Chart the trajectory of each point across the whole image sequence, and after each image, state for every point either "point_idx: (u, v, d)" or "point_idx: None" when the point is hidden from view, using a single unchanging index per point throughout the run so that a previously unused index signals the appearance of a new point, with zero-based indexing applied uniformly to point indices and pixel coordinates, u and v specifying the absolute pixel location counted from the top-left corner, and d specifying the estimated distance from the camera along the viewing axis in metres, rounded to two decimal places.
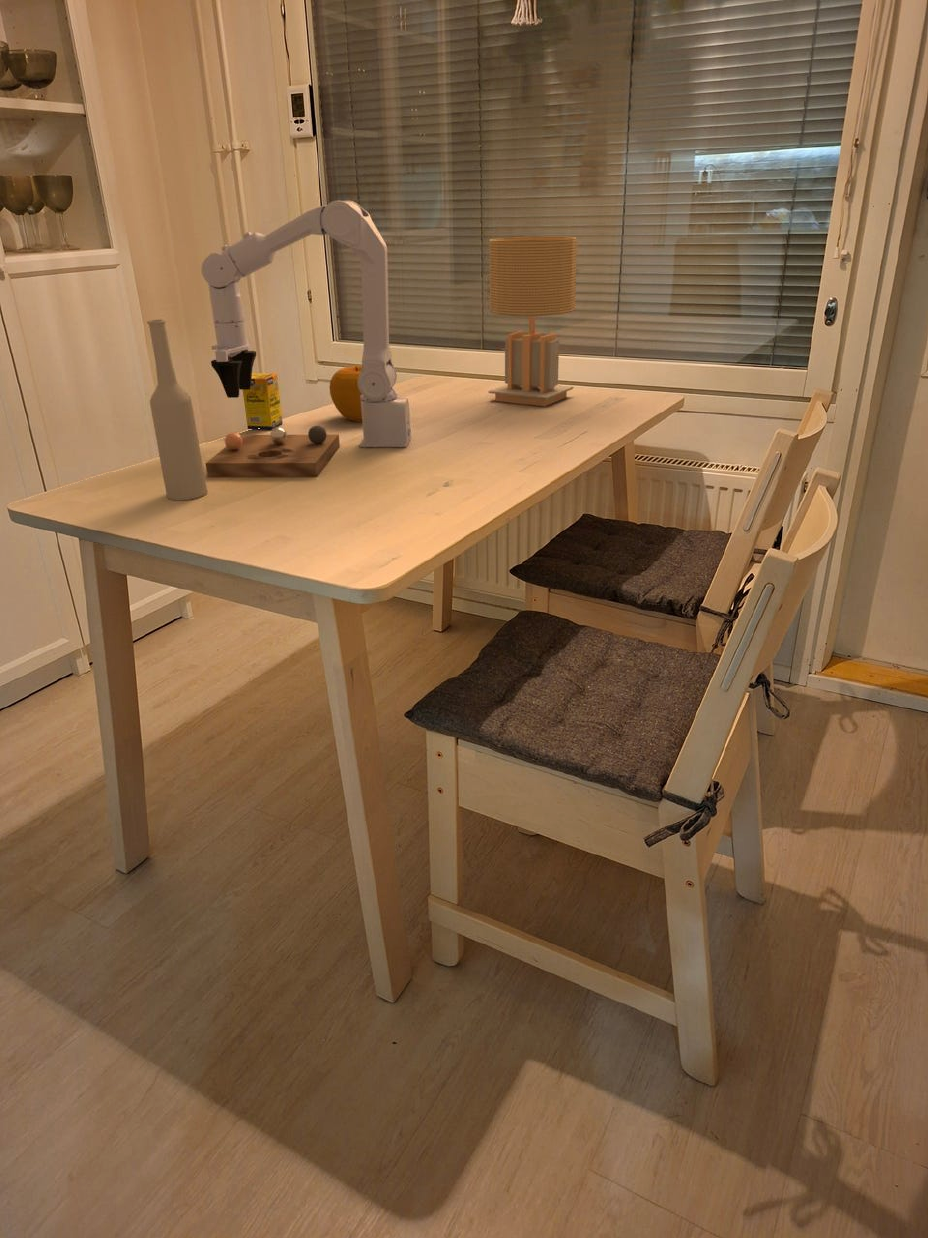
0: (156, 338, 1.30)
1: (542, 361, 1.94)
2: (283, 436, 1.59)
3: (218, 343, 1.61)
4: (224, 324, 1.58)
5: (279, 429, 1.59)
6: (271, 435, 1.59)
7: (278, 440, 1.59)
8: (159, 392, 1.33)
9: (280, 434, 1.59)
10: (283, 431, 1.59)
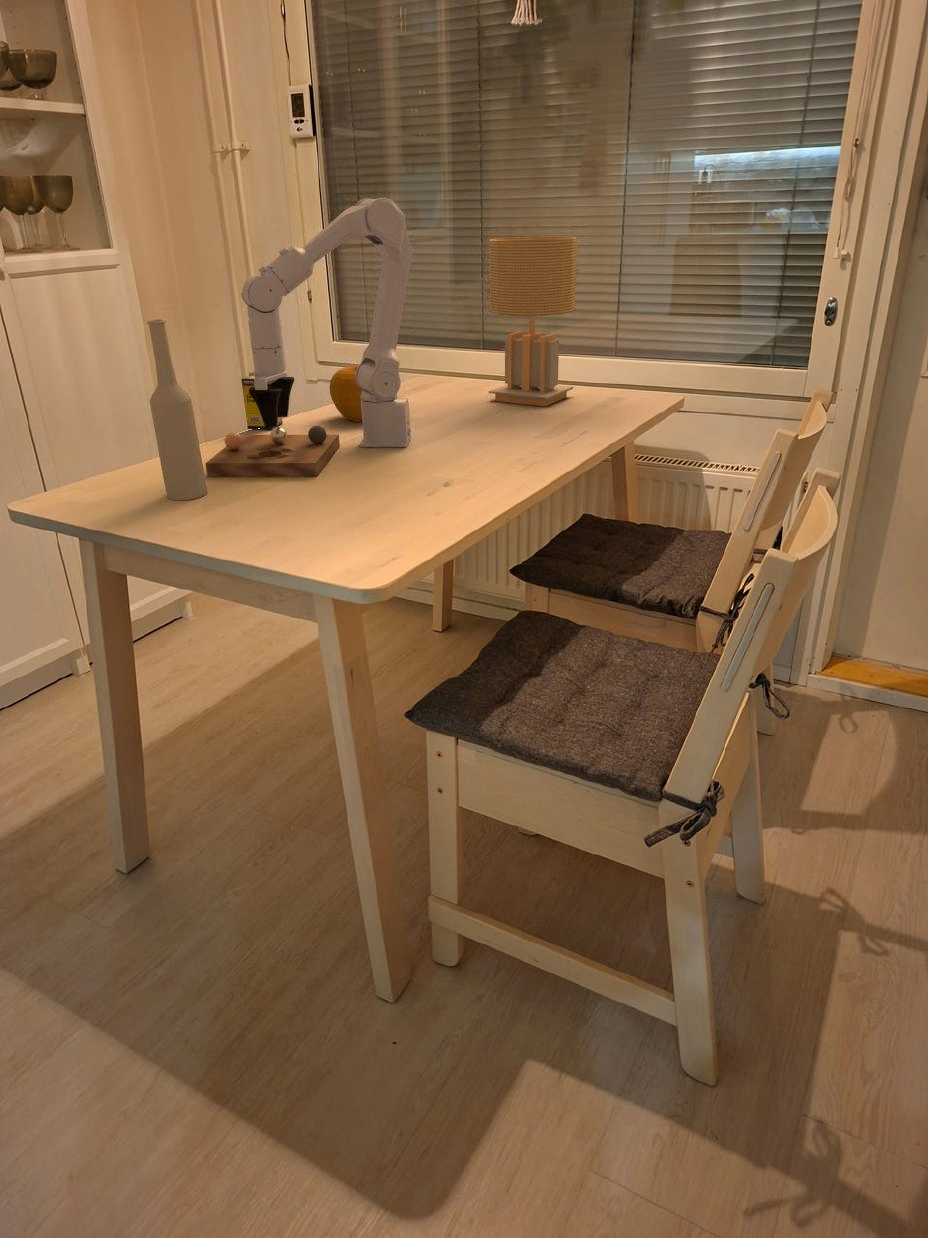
0: (156, 338, 1.30)
1: (542, 361, 1.94)
2: (283, 436, 1.59)
3: (257, 369, 1.53)
4: (263, 350, 1.50)
5: (279, 429, 1.59)
6: (271, 435, 1.59)
7: (278, 440, 1.59)
8: (159, 392, 1.33)
9: (280, 434, 1.59)
10: (283, 431, 1.59)
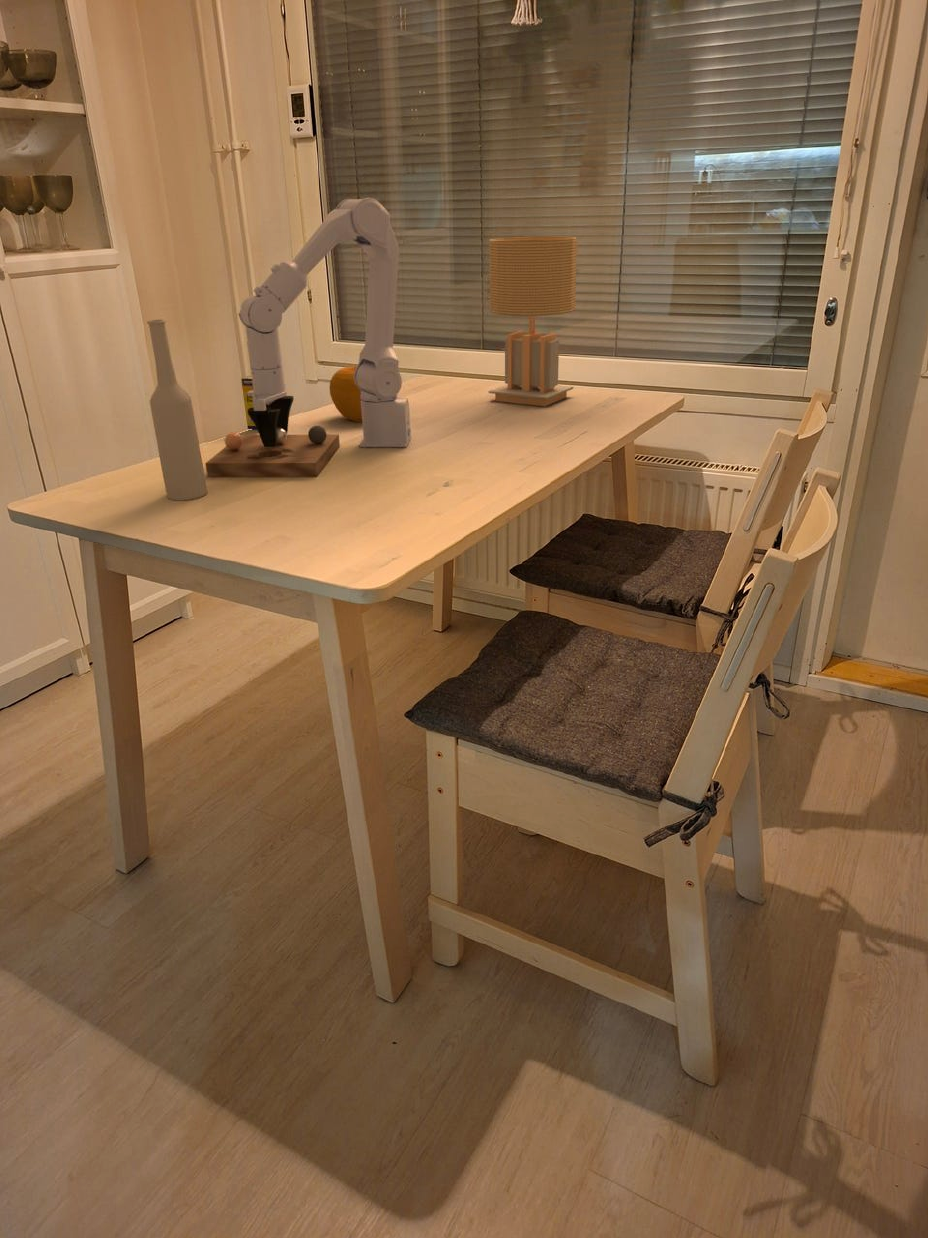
0: (156, 338, 1.30)
1: (542, 361, 1.94)
2: (283, 436, 1.59)
3: (255, 390, 1.52)
4: (262, 371, 1.50)
5: (279, 430, 1.59)
6: None
7: (278, 441, 1.59)
8: (159, 392, 1.33)
9: (280, 434, 1.58)
10: (283, 431, 1.59)
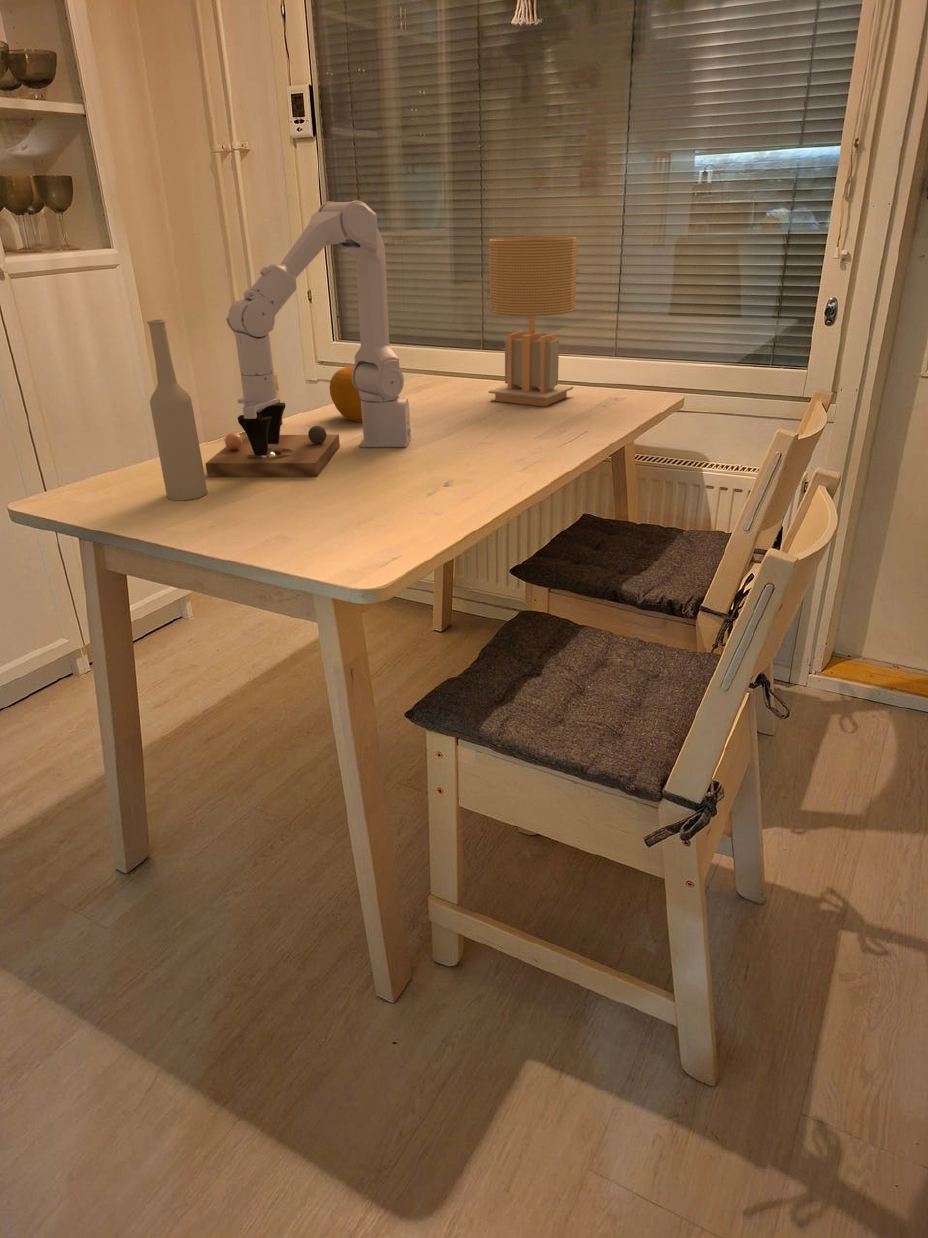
0: (156, 338, 1.30)
1: (542, 361, 1.94)
2: (274, 455, 1.53)
3: (246, 397, 1.47)
4: (252, 377, 1.45)
5: None
6: None
7: None
8: (159, 391, 1.33)
9: (271, 452, 1.53)
10: None
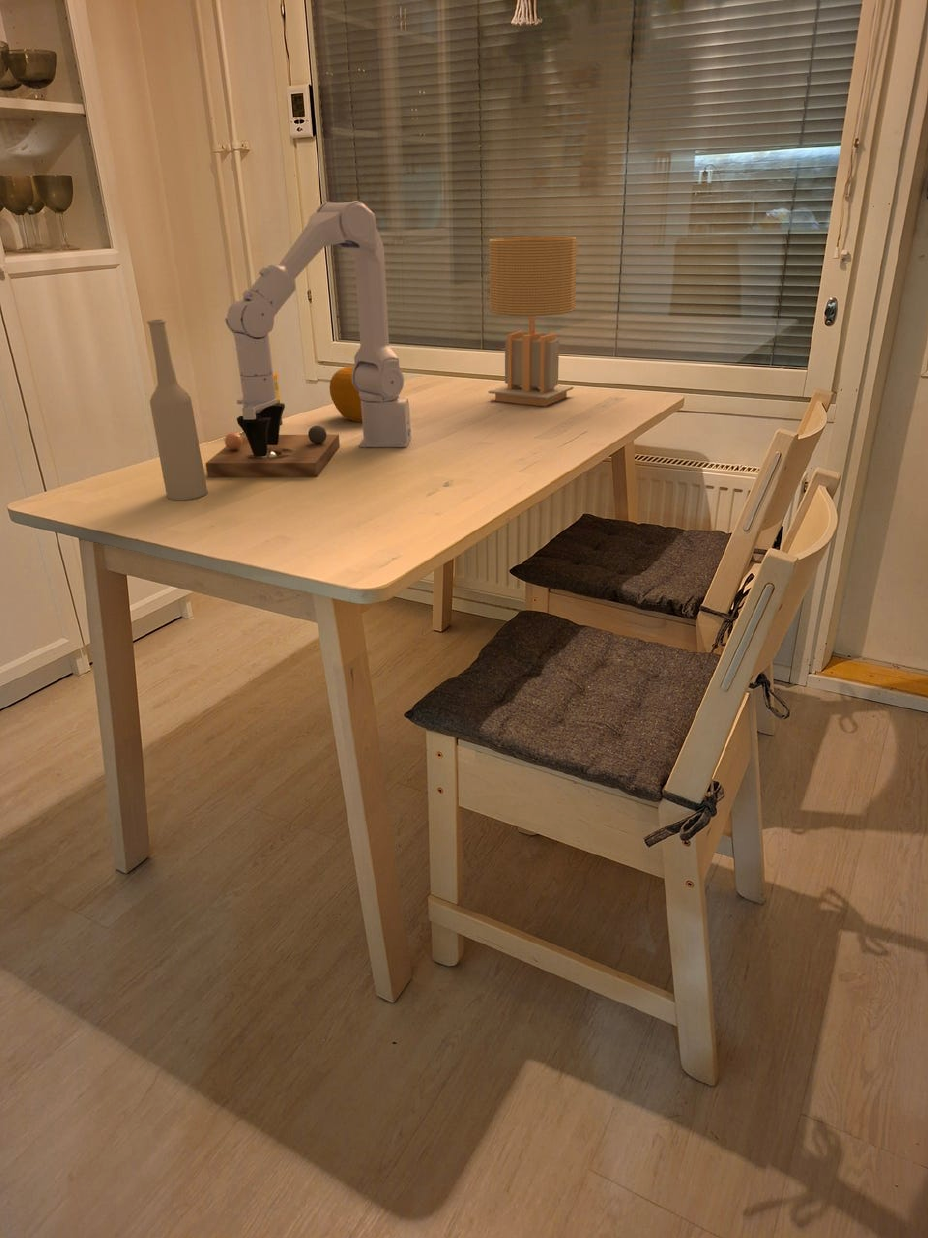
0: (156, 338, 1.30)
1: (542, 361, 1.94)
2: (274, 455, 1.54)
3: (245, 397, 1.46)
4: (251, 378, 1.44)
5: (272, 451, 1.54)
6: None
7: (268, 456, 1.53)
8: (159, 392, 1.33)
9: (272, 452, 1.54)
10: (275, 453, 1.54)
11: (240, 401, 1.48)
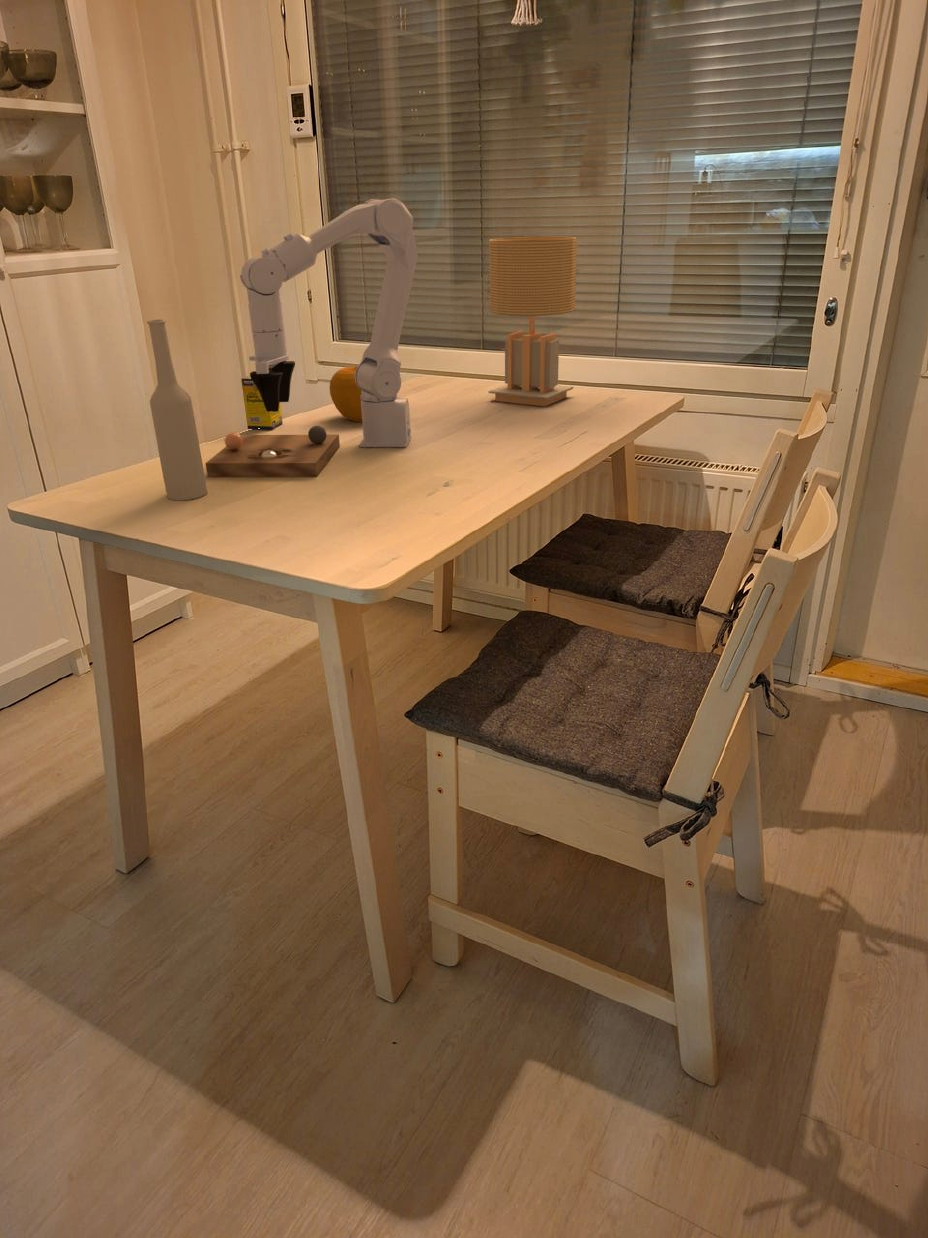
0: (156, 338, 1.30)
1: (542, 361, 1.94)
2: (275, 454, 1.54)
3: (257, 353, 1.51)
4: (264, 333, 1.48)
5: None
6: (262, 453, 1.54)
7: (268, 455, 1.53)
8: (159, 391, 1.33)
9: (272, 451, 1.54)
10: None
11: (252, 357, 1.52)
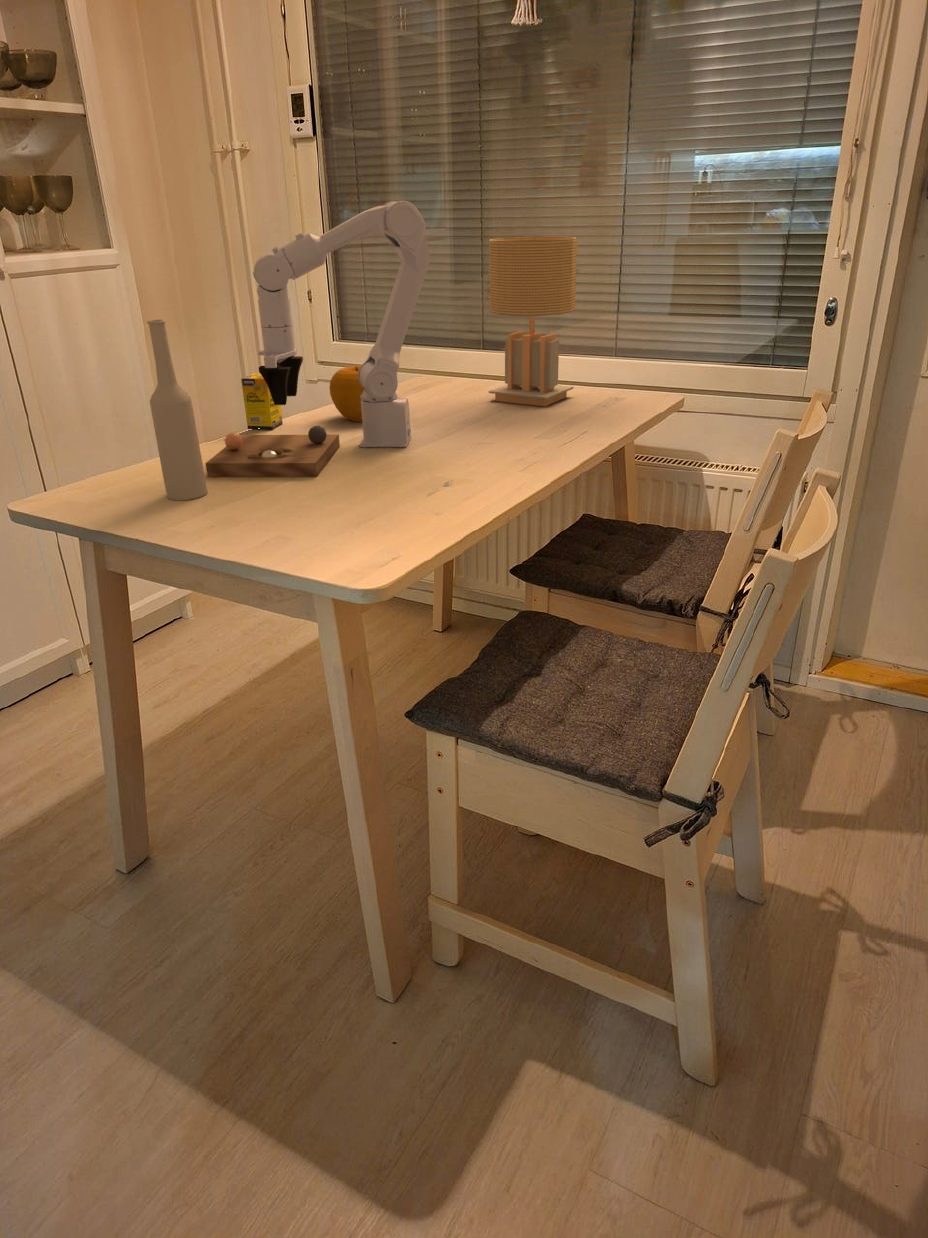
0: (156, 338, 1.30)
1: (542, 361, 1.94)
2: (275, 454, 1.54)
3: (266, 348, 1.55)
4: (272, 329, 1.52)
5: None
6: (263, 452, 1.54)
7: (269, 454, 1.53)
8: (159, 392, 1.33)
9: (272, 451, 1.54)
10: None
11: (261, 352, 1.56)
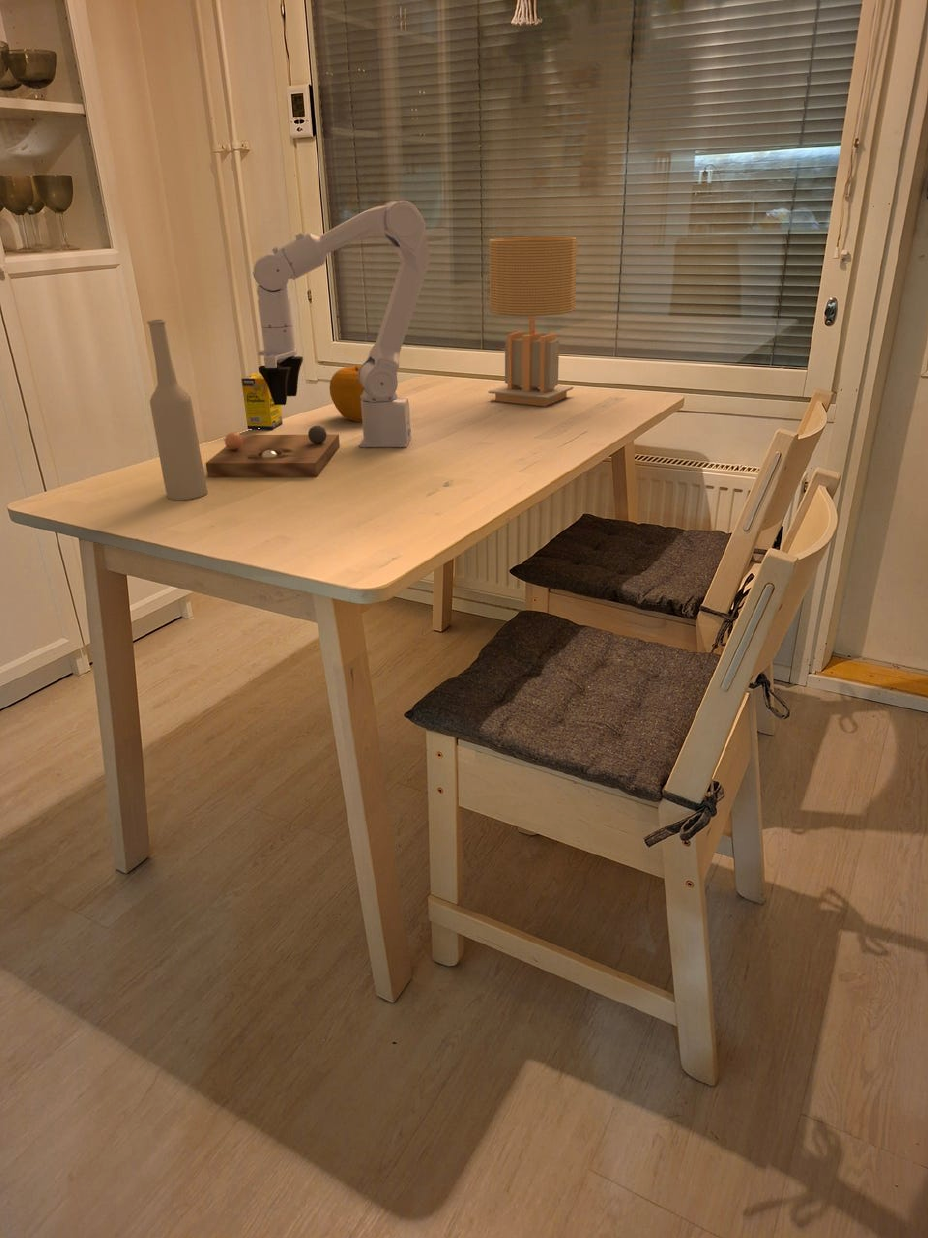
0: (156, 338, 1.30)
1: (542, 361, 1.94)
2: (275, 453, 1.54)
3: (266, 348, 1.55)
4: (272, 329, 1.52)
5: None
6: (263, 452, 1.54)
7: (269, 454, 1.53)
8: (159, 392, 1.33)
9: (273, 451, 1.54)
10: (276, 453, 1.55)
11: (261, 352, 1.56)
